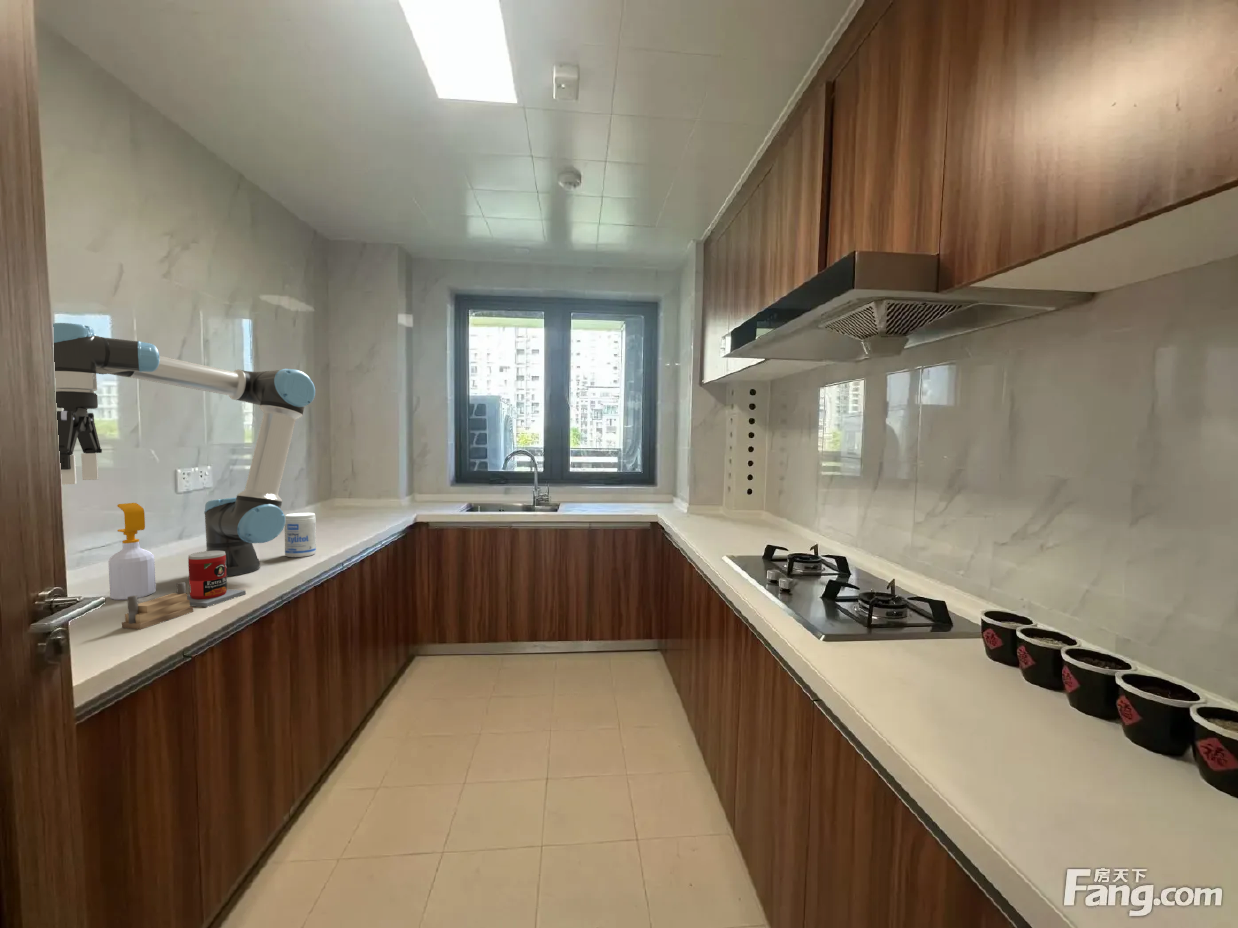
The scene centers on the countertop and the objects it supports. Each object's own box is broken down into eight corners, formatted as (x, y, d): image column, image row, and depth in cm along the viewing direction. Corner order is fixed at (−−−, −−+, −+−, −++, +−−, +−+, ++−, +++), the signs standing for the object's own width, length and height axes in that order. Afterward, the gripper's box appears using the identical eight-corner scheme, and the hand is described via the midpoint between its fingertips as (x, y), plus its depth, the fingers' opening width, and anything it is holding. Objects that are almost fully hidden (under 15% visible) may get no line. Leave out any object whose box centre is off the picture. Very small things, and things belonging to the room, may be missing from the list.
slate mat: (211, 591, 145) (211, 588, 145) (245, 594, 143) (245, 590, 143) (170, 604, 134) (170, 600, 134) (207, 606, 132) (206, 603, 132)
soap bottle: (145, 588, 148) (141, 500, 146) (162, 592, 144) (158, 502, 142) (103, 597, 140) (98, 504, 138) (120, 602, 136) (115, 506, 134)
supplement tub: (286, 559, 183) (284, 517, 182) (284, 554, 191) (282, 513, 190) (318, 555, 188) (316, 514, 188) (315, 550, 196) (313, 511, 195)
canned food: (207, 600, 134) (205, 557, 133) (181, 598, 135) (179, 556, 135) (234, 591, 141) (233, 551, 141) (210, 590, 143) (208, 549, 142)
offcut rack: (177, 610, 130) (175, 581, 129) (194, 611, 129) (192, 582, 128) (120, 628, 118) (119, 596, 117) (139, 629, 117) (137, 598, 116)
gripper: (74, 394, 133) (79, 478, 134) (26, 386, 111) (32, 487, 113) (114, 395, 137) (118, 477, 138) (75, 388, 115) (80, 485, 116)
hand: (79, 482), depth 125 cm, fingers open, 13 cm apart
